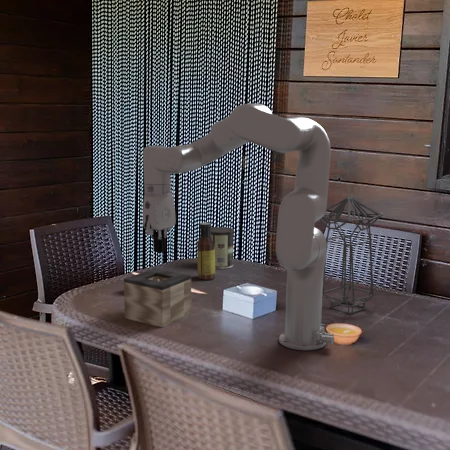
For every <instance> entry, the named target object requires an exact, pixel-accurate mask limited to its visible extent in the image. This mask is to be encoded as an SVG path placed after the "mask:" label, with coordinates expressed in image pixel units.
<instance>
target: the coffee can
mask: <svg viewBox="0 0 450 450" xmlns="http://www.w3.org/2000/svg"><path fill="white" fill-rule="evenodd" d="M210 229H211V237H212V240H213V243H214V247H215V270H226V269H232V268H233V267H234V242H235V241H234V238H235V237H234V235H235V234H234V232H235V229H234V228H232V227H227V226H214V227H211V228H210Z"/></svg>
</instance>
